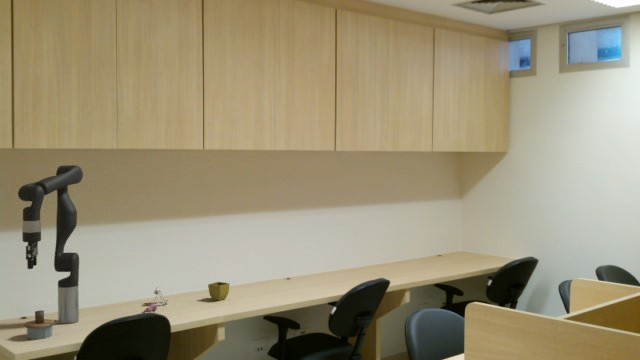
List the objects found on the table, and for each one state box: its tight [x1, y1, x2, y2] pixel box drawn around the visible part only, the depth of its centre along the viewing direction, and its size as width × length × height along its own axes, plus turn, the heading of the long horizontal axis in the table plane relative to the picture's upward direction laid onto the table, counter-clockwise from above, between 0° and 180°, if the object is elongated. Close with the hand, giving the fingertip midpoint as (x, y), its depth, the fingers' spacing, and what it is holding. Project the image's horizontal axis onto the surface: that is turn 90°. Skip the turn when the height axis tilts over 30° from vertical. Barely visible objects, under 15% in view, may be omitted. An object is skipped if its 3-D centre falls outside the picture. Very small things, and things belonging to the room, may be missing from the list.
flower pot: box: [207, 281, 230, 301], centre depth 366 cm, size 9×9×9 cm
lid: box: [24, 310, 55, 329], centre depth 290 cm, size 12×12×6 cm
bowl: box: [26, 325, 53, 340], centre depth 290 cm, size 10×10×5 cm
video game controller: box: [141, 303, 159, 313], centre depth 328 cm, size 10×5×7 cm, turn 171°
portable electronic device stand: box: [152, 287, 169, 306], centre depth 355 cm, size 9×8×8 cm
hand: (32, 267), depth 290 cm, fingers open, 8 cm apart
